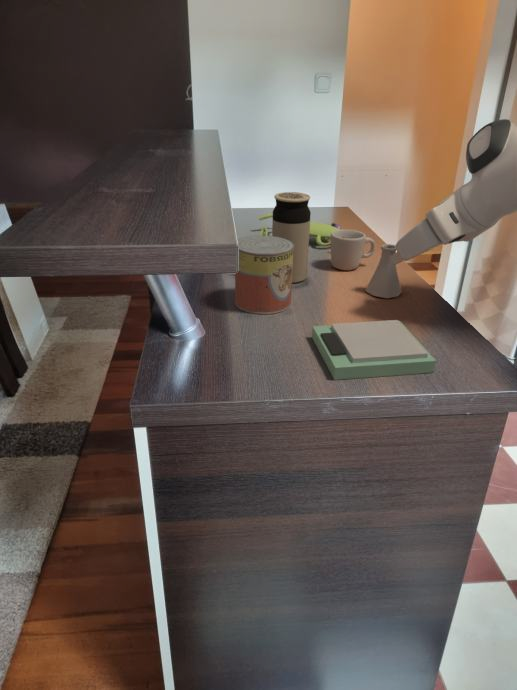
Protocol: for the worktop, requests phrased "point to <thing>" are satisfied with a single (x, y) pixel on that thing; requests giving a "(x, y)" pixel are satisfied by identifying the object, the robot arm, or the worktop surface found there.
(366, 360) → the scale
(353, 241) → the cup
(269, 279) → the canned food
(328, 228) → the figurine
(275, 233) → the travel mug
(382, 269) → the flask
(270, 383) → the worktop surface
